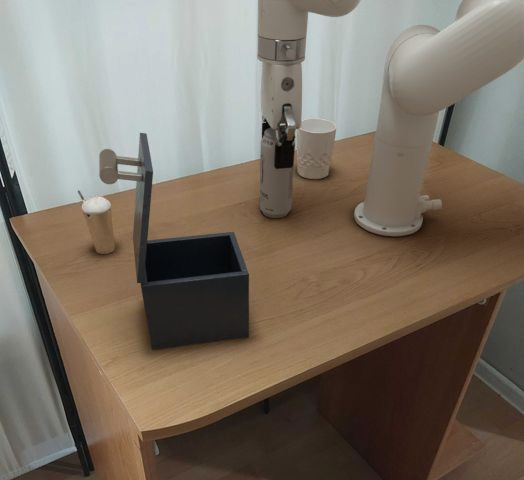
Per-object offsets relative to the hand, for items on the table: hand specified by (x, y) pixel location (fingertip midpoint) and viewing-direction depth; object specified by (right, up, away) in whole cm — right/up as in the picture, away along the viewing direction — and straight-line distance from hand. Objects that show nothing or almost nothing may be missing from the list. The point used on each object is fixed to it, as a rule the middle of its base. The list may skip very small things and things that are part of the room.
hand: (276, 155), depth 95 cm
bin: (-12, -30, -16) cm, 36 cm away
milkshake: (-30, -17, -3) cm, 34 cm away
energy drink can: (0, -8, +8) cm, 11 cm away
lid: (-17, -17, -30) cm, 38 cm away
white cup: (+8, +4, +20) cm, 22 cm away
